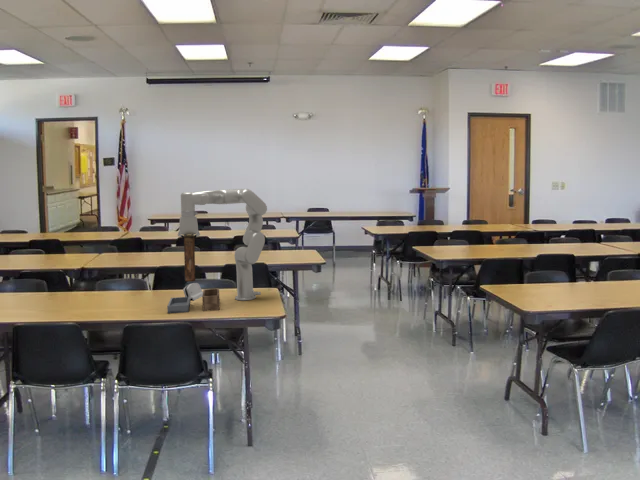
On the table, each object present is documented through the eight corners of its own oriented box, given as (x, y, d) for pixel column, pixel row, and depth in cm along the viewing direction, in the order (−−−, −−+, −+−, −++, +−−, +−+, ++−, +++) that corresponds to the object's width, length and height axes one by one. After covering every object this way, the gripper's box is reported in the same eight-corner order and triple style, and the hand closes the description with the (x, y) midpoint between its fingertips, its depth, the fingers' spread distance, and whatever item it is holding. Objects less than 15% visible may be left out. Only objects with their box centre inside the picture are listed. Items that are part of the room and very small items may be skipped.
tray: (190, 303, 324) (190, 296, 323) (188, 312, 302) (187, 305, 302) (171, 304, 322) (170, 297, 321) (167, 313, 300) (167, 306, 300)
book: (195, 281, 304) (194, 236, 301) (185, 281, 302) (184, 236, 300) (194, 276, 319) (193, 234, 317) (184, 277, 318) (183, 234, 316)
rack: (219, 301, 326) (219, 288, 325) (219, 309, 306) (218, 295, 305) (204, 302, 325) (203, 289, 324) (203, 310, 304) (202, 296, 303)
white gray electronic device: (193, 300, 331) (187, 285, 330) (187, 303, 332) (181, 287, 332) (205, 294, 347) (199, 280, 346) (199, 297, 348) (193, 282, 348)
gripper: (202, 213, 312) (203, 245, 314) (174, 214, 309) (175, 246, 311) (202, 214, 305) (203, 247, 307) (173, 215, 302) (174, 248, 304)
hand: (189, 246), depth 309 cm, fingers closed on book
